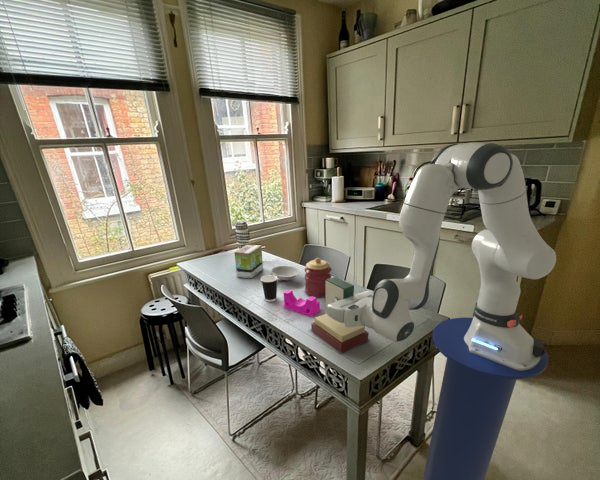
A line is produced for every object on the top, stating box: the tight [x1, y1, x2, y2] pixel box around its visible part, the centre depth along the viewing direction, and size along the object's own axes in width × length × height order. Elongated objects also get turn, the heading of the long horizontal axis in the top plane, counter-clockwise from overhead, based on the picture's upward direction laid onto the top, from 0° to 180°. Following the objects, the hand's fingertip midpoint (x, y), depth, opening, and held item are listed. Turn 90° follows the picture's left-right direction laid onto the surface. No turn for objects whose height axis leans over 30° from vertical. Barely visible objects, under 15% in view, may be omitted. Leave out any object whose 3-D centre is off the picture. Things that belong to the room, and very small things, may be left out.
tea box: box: [234, 244, 264, 279], centre depth 179 cm, size 15×10×15 cm, turn 162°
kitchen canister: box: [304, 257, 332, 298], centre depth 153 cm, size 13×13×18 cm
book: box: [325, 276, 355, 310], centre depth 114 cm, size 10×5×12 cm, turn 34°
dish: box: [270, 265, 301, 281], centre depth 171 cm, size 18×14×5 cm
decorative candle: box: [234, 220, 251, 250], centre depth 197 cm, size 9×9×25 cm
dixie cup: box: [260, 274, 279, 303], centre depth 148 cm, size 8×8×11 cm
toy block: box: [283, 289, 321, 317], centre depth 139 cm, size 15×6×8 cm, turn 54°
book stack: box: [310, 312, 369, 354], centre depth 119 cm, size 18×13×6 cm
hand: (339, 296), depth 114 cm, fingers closed on book, 4 cm apart
